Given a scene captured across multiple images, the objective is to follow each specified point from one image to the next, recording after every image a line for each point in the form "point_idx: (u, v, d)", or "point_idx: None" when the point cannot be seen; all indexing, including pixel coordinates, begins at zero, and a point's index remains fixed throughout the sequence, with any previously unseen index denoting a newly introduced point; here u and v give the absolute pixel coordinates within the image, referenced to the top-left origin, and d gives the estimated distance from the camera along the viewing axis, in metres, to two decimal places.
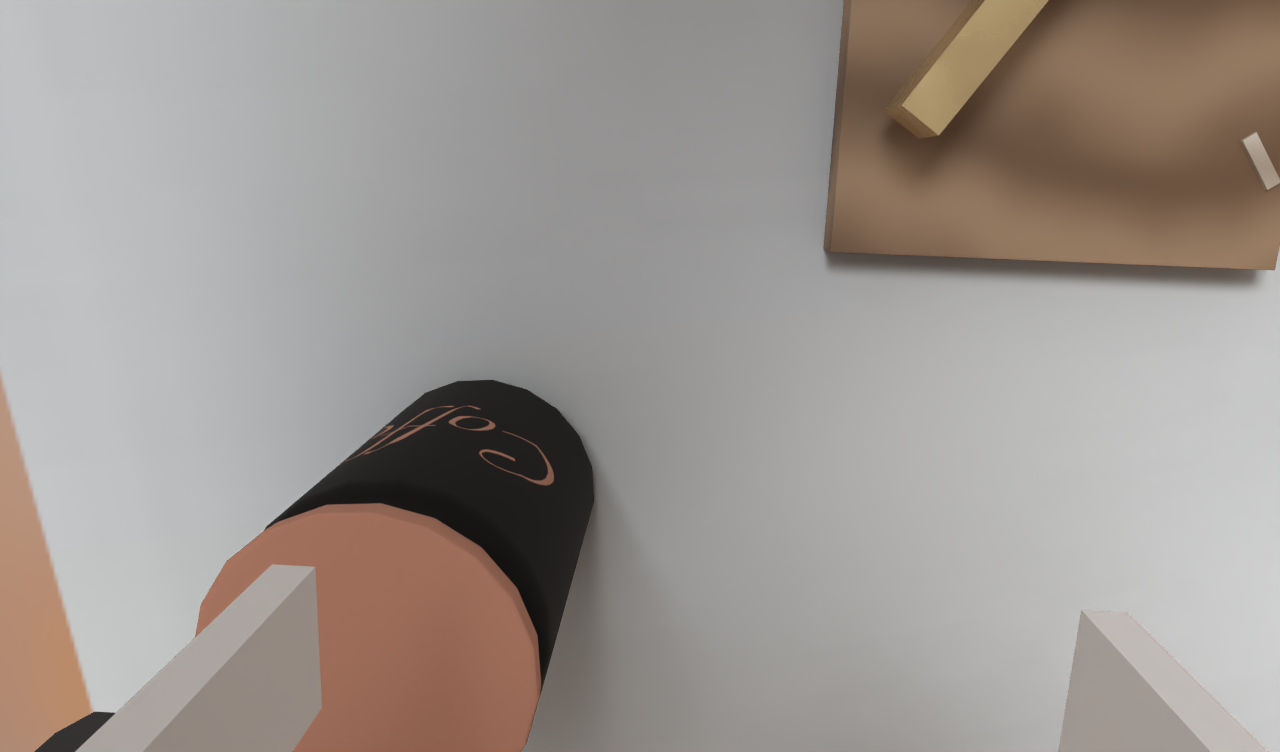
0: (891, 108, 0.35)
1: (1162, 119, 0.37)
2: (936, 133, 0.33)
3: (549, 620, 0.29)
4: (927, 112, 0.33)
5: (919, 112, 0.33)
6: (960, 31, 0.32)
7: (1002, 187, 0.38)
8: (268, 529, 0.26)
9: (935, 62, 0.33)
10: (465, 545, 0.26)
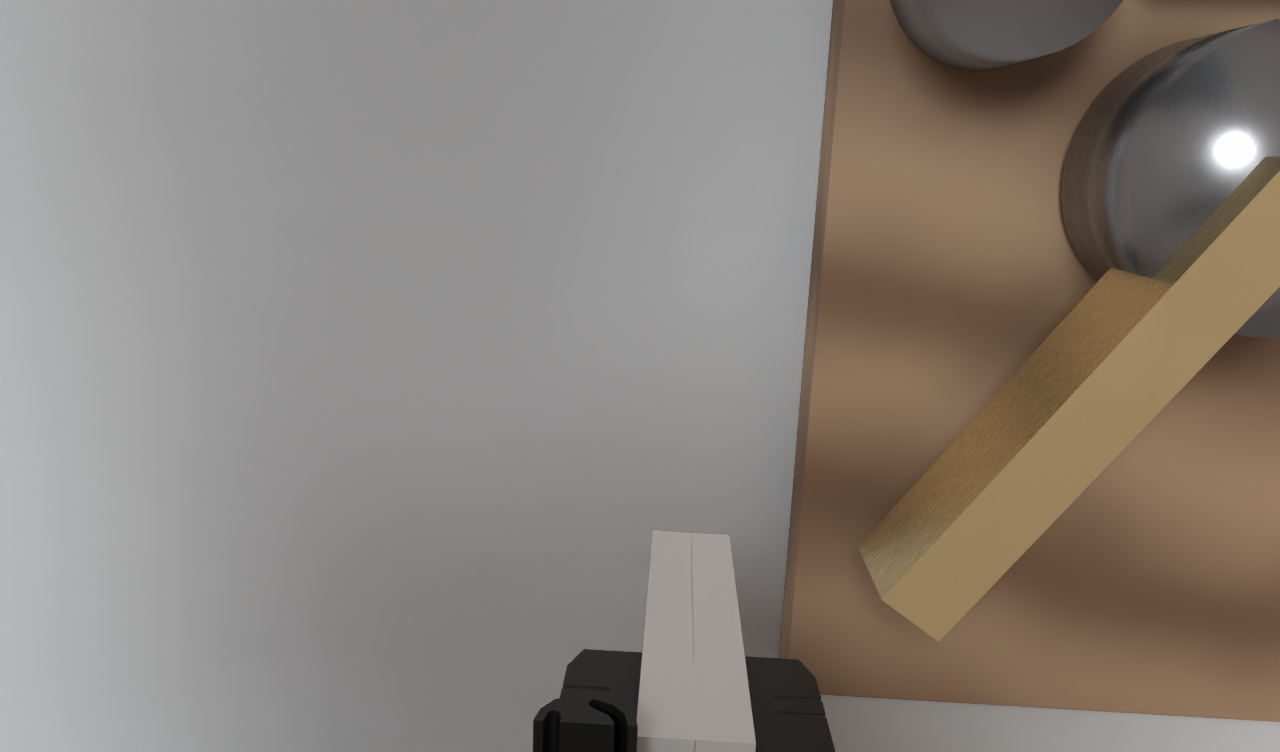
0: (868, 567, 0.23)
1: (1261, 534, 0.26)
2: (934, 637, 0.22)
3: None
4: (921, 610, 0.22)
5: (909, 610, 0.22)
6: (973, 500, 0.21)
7: (1028, 616, 0.27)
8: None
9: (934, 541, 0.21)
10: None
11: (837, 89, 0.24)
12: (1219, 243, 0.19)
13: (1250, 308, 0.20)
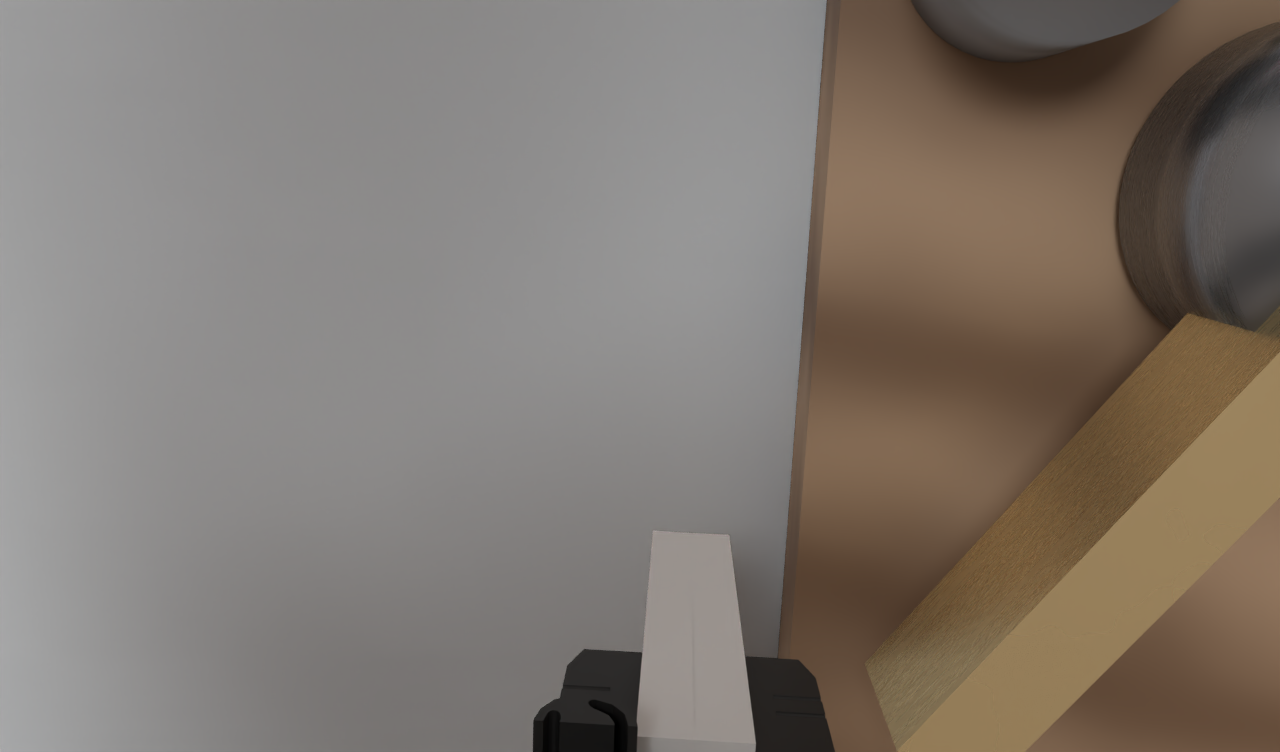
0: (878, 696, 0.18)
1: None
2: None
3: None
4: None
5: None
6: (1017, 624, 0.16)
7: (1076, 737, 0.22)
8: None
9: (965, 675, 0.16)
10: None
11: (834, 87, 0.19)
12: None
13: None
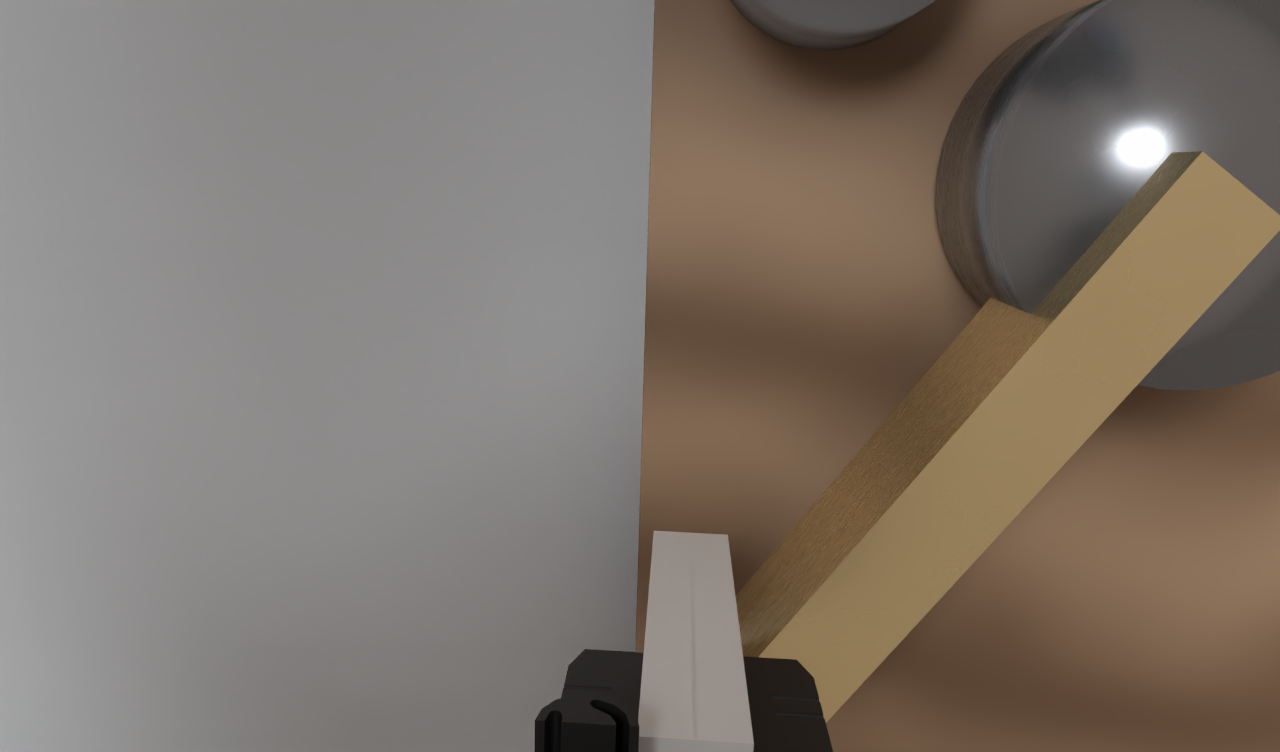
0: None
1: (1203, 622, 0.21)
2: None
3: None
4: None
5: None
6: (803, 605, 0.16)
7: (921, 721, 0.22)
8: None
9: (756, 656, 0.16)
10: None
11: (653, 76, 0.19)
12: (1108, 268, 0.14)
13: (1154, 354, 0.15)
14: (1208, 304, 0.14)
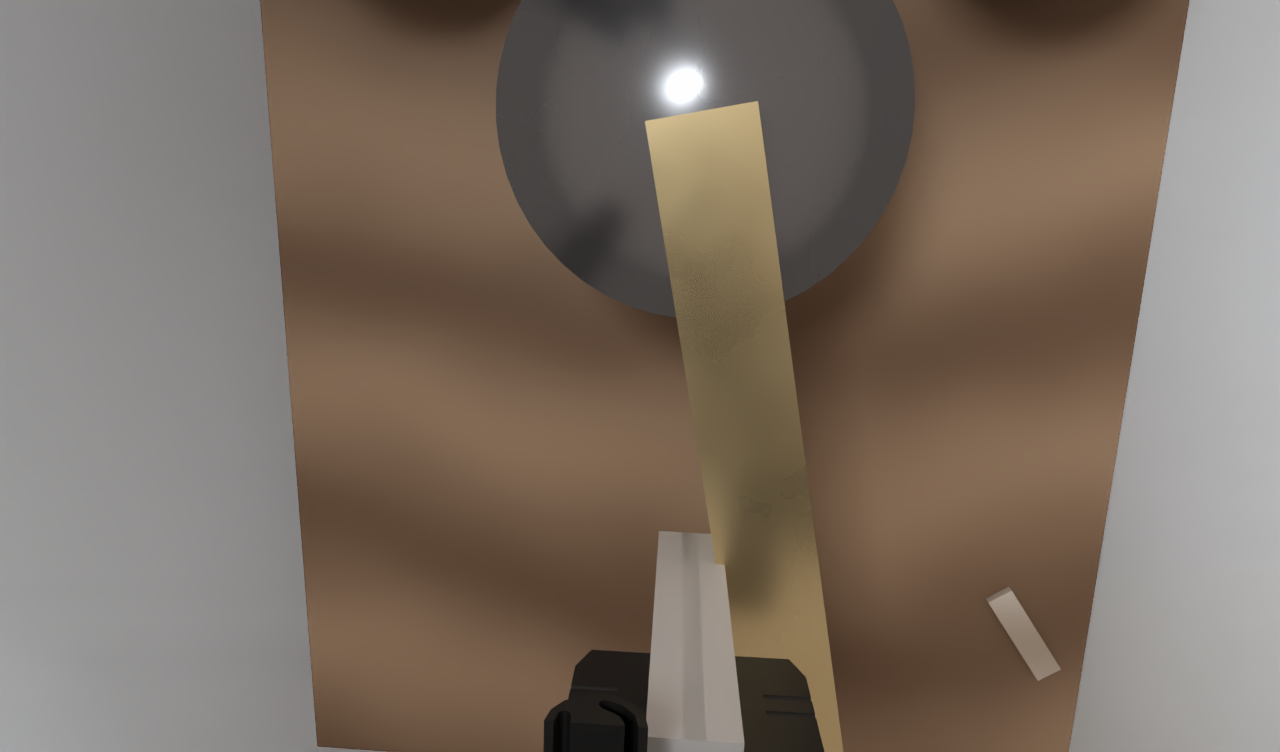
0: None
1: (846, 562, 0.21)
2: None
3: None
4: None
5: None
6: None
7: None
8: None
9: None
10: None
11: (262, 19, 0.19)
12: (674, 256, 0.15)
13: (773, 276, 0.15)
14: (768, 208, 0.14)
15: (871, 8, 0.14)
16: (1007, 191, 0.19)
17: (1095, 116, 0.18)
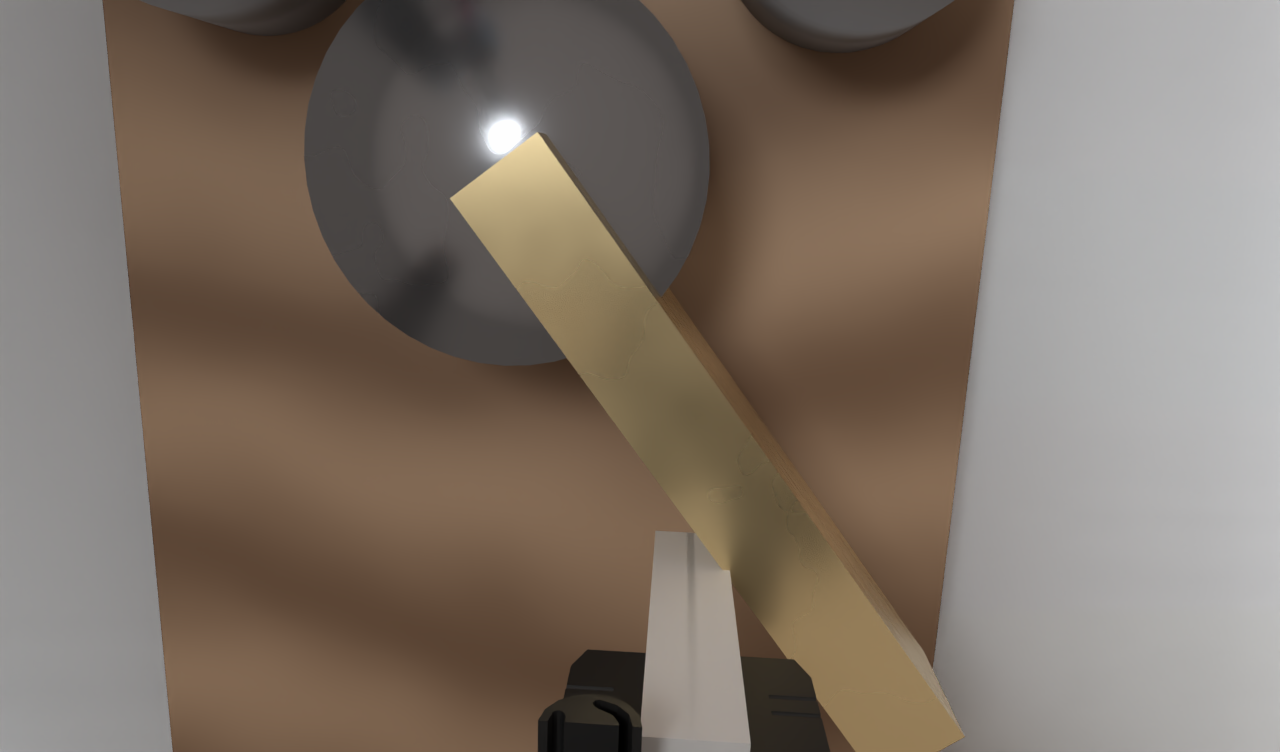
0: None
1: None
2: (958, 737, 0.16)
3: None
4: (911, 744, 0.16)
5: None
6: (783, 649, 0.16)
7: (439, 695, 0.22)
8: None
9: (823, 703, 0.16)
10: None
11: (109, 59, 0.19)
12: (535, 303, 0.15)
13: (632, 278, 0.15)
14: (596, 220, 0.14)
15: (603, 0, 0.15)
16: (839, 239, 0.19)
17: (922, 168, 0.19)
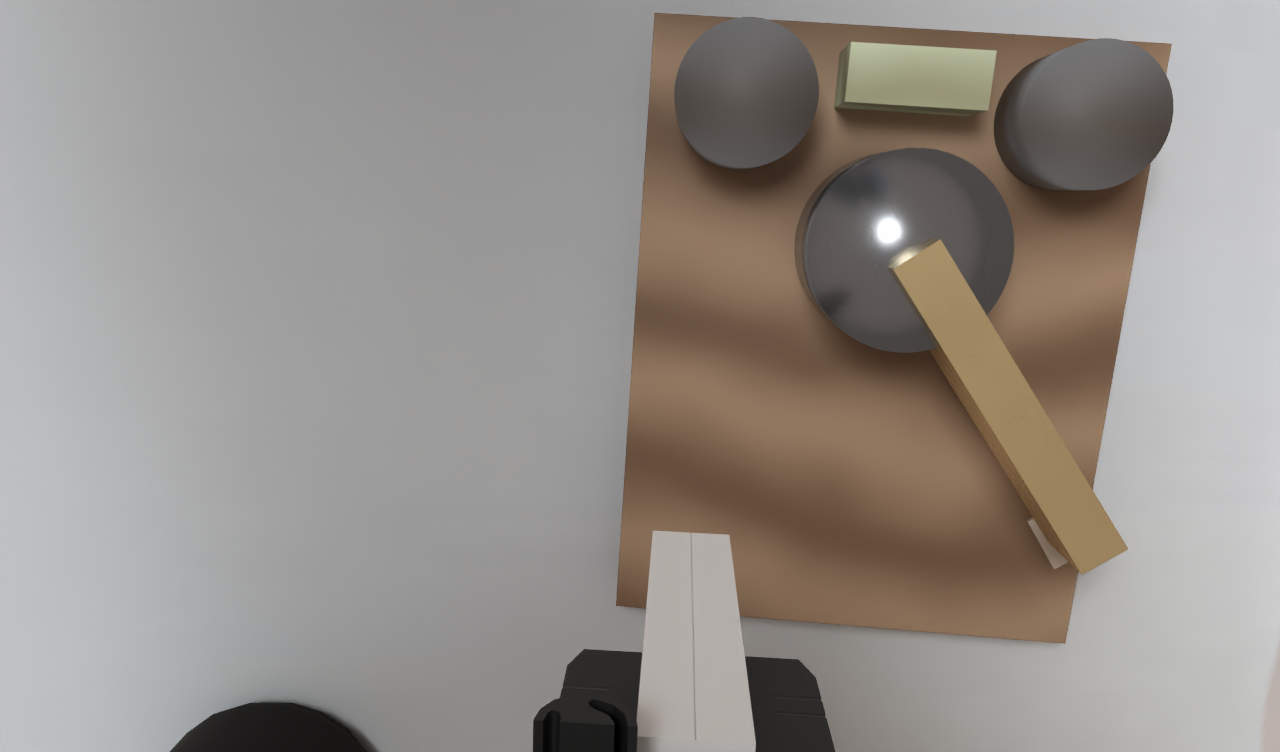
0: (1061, 554, 0.34)
1: (947, 496, 0.37)
2: (1124, 550, 0.32)
3: None
4: (1100, 553, 0.32)
5: (1097, 560, 0.32)
6: (1037, 501, 0.31)
7: (787, 552, 0.37)
8: None
9: (1055, 531, 0.32)
10: None
11: (644, 179, 0.35)
12: (929, 321, 0.30)
13: (979, 310, 0.30)
14: (964, 281, 0.30)
15: (968, 175, 0.30)
16: (1046, 290, 0.35)
17: (1094, 253, 0.34)
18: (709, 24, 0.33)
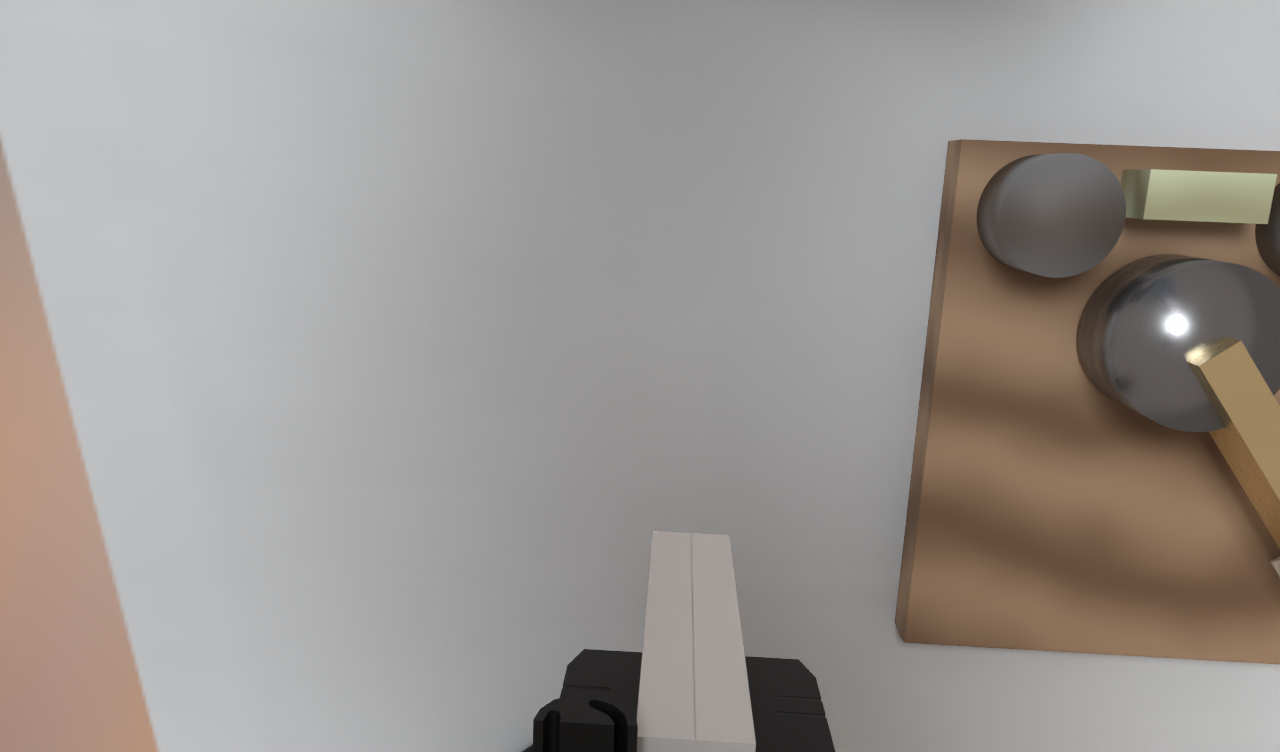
0: None
1: (1201, 542, 0.42)
2: None
3: None
4: None
5: None
6: None
7: (1058, 593, 0.43)
8: None
9: None
10: None
11: (945, 279, 0.40)
12: (1228, 408, 0.36)
13: (1271, 398, 0.36)
14: (1260, 375, 0.35)
15: (1260, 284, 0.35)
16: None
17: None
18: (1009, 148, 0.39)
